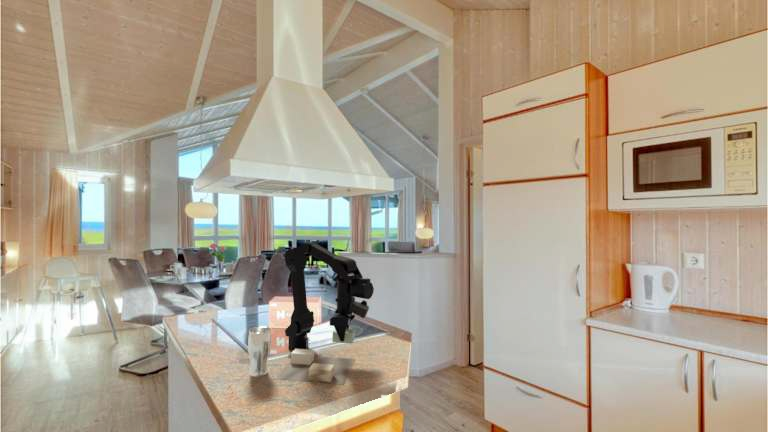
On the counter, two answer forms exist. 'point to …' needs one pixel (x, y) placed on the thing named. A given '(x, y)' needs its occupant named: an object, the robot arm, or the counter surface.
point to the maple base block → (321, 372)
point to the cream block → (302, 356)
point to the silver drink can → (259, 350)
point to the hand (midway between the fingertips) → (343, 338)
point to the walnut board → (302, 370)
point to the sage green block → (348, 336)
